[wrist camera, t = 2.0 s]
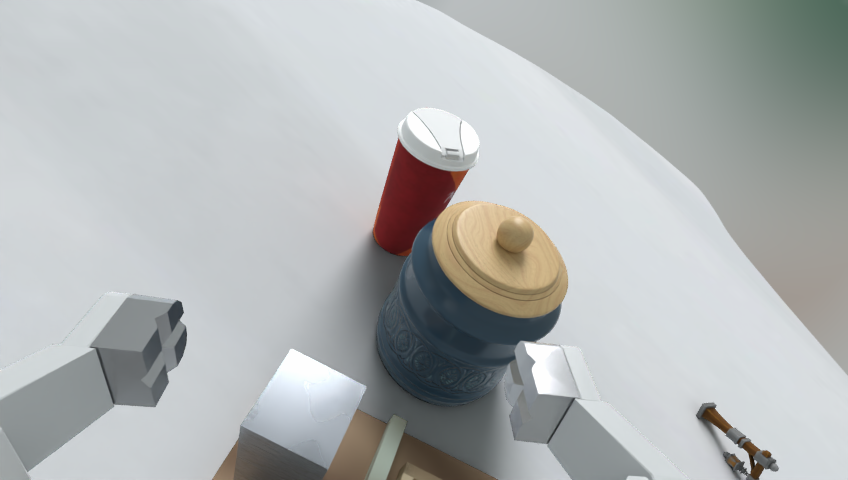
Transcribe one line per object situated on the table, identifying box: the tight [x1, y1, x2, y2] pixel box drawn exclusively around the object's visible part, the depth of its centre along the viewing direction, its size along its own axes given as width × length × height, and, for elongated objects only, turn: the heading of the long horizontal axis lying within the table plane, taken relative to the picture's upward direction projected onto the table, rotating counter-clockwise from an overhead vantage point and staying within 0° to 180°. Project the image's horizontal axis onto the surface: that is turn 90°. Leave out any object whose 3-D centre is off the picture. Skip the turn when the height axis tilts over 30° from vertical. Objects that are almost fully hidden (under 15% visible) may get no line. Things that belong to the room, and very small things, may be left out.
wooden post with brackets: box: [696, 403, 779, 480], centre depth 47 cm, size 2×8×4 cm, turn 12°
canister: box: [377, 201, 568, 406], centre depth 38 cm, size 13×13×18 cm
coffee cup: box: [373, 108, 480, 256], centre depth 47 cm, size 8×8×15 cm
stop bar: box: [233, 349, 367, 480], centre depth 27 cm, size 4×4×13 cm
